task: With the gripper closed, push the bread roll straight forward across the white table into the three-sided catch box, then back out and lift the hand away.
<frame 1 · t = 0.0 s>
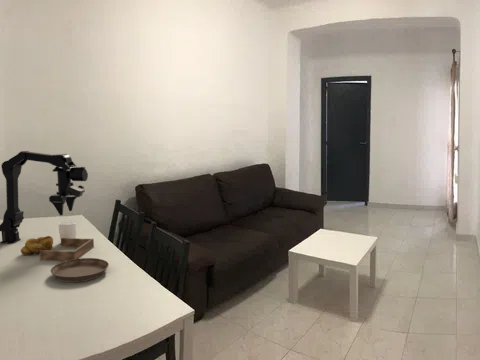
hand: (66, 213, 186), 15 cm above the table, tool pointing down, fingers open, 9 cm apart
white cup: (68, 243, 188), on the table
plant saucer: (80, 274, 150), on the table
bread roll: (37, 253, 174), on the table
catch box: (68, 253, 173), on the table
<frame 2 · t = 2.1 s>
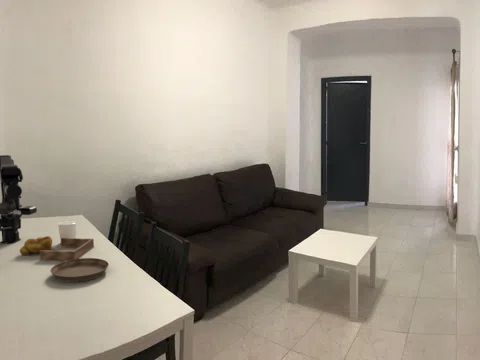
hand: (14, 229, 172), 11 cm above the table, tool pointing down, fingers closed
nothing on the table moved.
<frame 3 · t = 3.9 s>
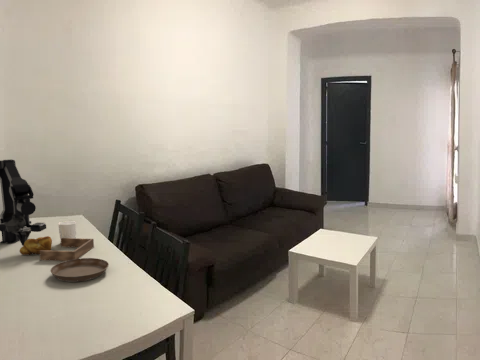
hand: (23, 245, 173), 3 cm above the table, tool pointing down, fingers closed
bread roll: (36, 253, 173), on the table, touching gripper
everything else where it was.
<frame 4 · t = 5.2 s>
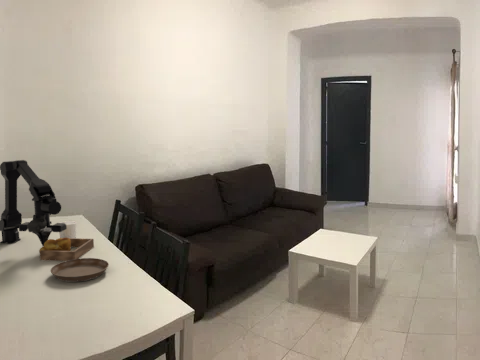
hand: (44, 245, 173), 3 cm above the table, tool pointing down, fingers closed
bread roll: (56, 254, 172), on the table, touching gripper
everything else where it was.
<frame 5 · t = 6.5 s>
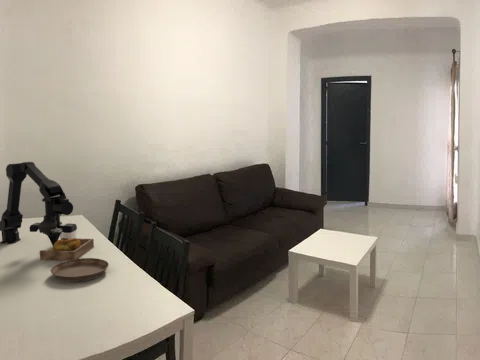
hand: (54, 246, 173), 3 cm above the table, tool pointing down, fingers closed
bread roll: (66, 254, 172), on the table, touching catch box, gripper
everything else where it was.
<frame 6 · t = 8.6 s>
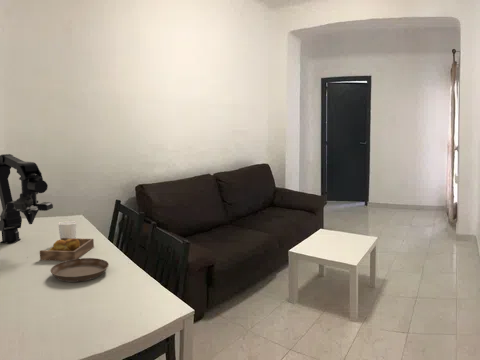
hand: (30, 224, 177), 12 cm above the table, tool pointing down, fingers closed
bread roll: (65, 255, 171), on the table
everything else where it was.
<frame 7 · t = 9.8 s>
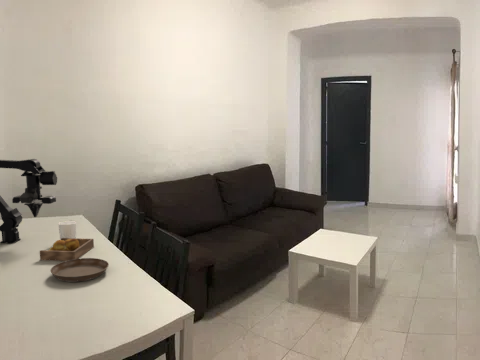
hand: (35, 216, 189), 12 cm above the table, tool pointing down, fingers closed
nothing on the table moved.
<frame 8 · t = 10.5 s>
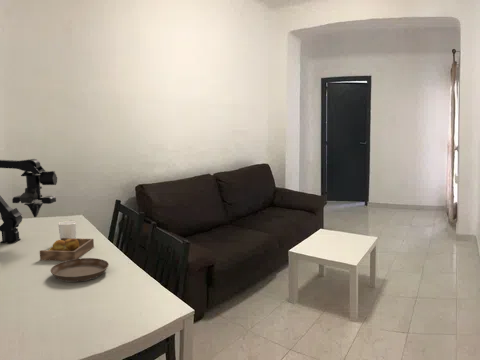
hand: (35, 216, 189), 12 cm above the table, tool pointing down, fingers closed
nothing on the table moved.
at the end: bread roll inside the target area on the catch box (1.9 cm from its centre), point 0.0 cm above the catch box's base; bread roll tilted 0°; white cup moved 0.2 cm from its start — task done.
